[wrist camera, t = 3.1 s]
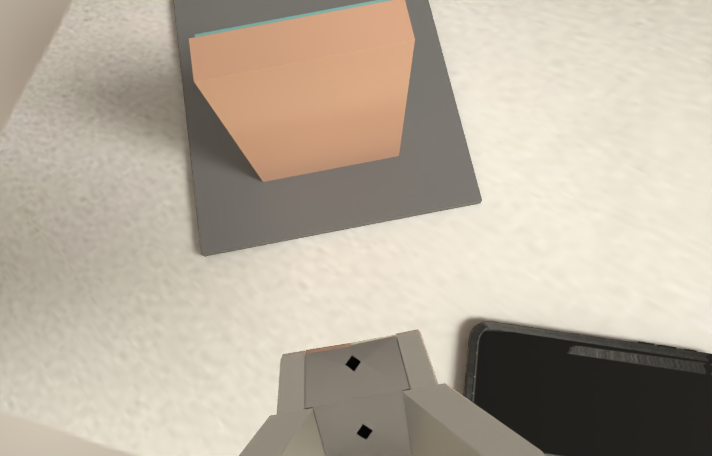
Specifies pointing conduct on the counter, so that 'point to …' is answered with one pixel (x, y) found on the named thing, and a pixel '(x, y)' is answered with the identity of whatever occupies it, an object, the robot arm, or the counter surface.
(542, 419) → the phone
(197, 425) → the counter surface
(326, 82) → the tile
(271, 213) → the mat
